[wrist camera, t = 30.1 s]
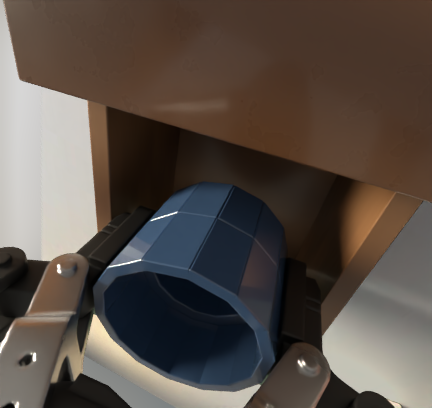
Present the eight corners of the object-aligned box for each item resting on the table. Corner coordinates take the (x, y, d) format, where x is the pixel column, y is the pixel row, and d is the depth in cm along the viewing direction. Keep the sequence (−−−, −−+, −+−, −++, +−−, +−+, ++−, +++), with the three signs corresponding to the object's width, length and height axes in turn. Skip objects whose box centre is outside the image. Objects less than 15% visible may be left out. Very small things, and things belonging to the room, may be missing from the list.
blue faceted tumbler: (161, 256, 15) (98, 348, 11) (171, 157, 12) (85, 230, 7) (265, 295, 14) (243, 412, 10) (309, 200, 11) (306, 313, 6)
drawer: (281, 321, 24) (268, 433, 17) (152, 272, 26) (95, 356, 19) (412, 88, 13) (518, 145, 6) (171, 29, 15) (51, 25, 8)
